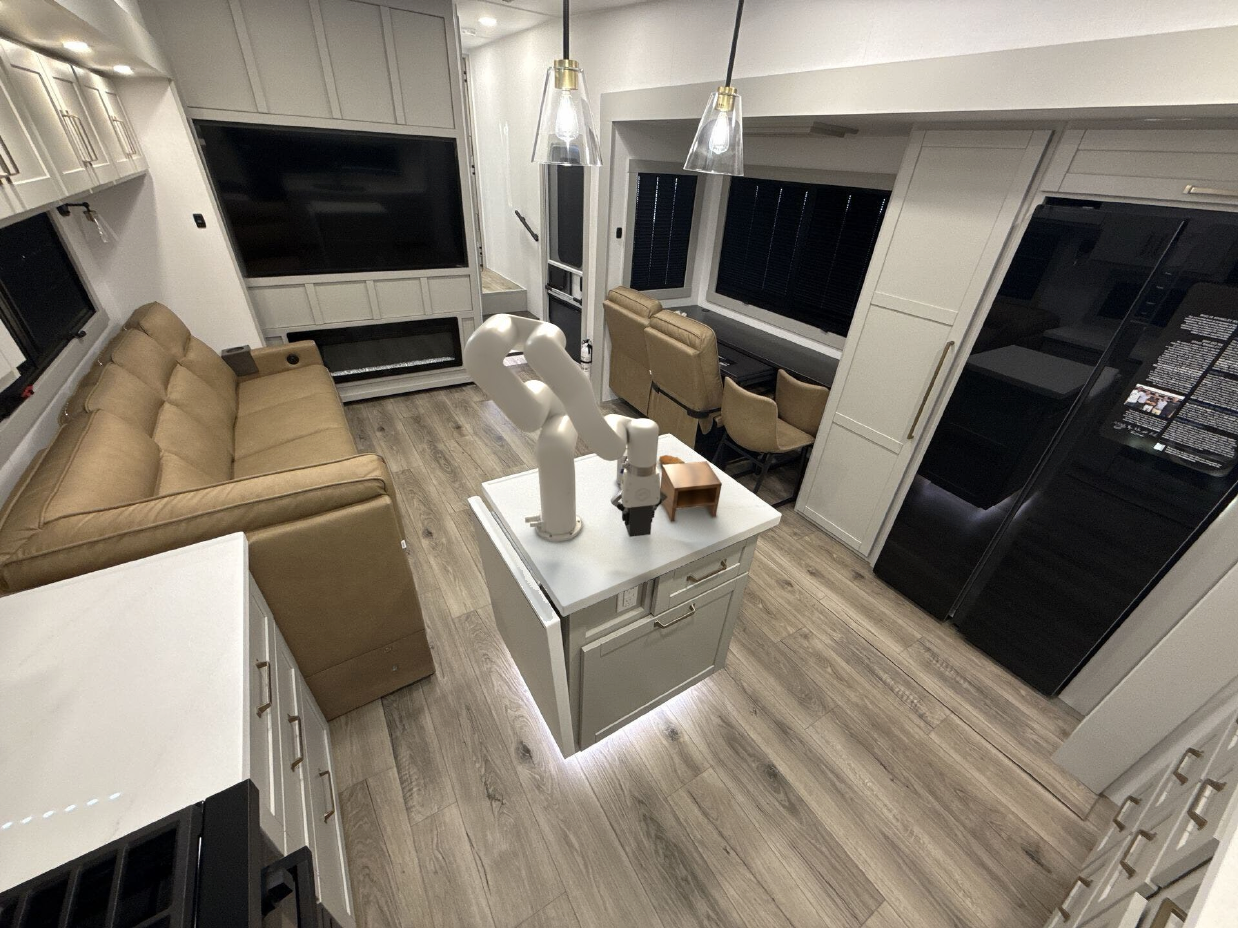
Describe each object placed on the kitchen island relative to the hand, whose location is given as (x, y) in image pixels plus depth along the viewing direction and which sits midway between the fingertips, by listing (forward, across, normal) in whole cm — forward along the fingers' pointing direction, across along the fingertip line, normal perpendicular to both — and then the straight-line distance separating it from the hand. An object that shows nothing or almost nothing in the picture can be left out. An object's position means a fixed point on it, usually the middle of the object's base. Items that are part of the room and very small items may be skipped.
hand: (637, 520), depth 133 cm
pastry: (+5, +20, +31) cm, 37 cm away
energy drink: (+5, +2, +24) cm, 25 cm away
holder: (+3, 0, 0) cm, 3 cm away
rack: (+5, +18, +9) cm, 21 cm away
